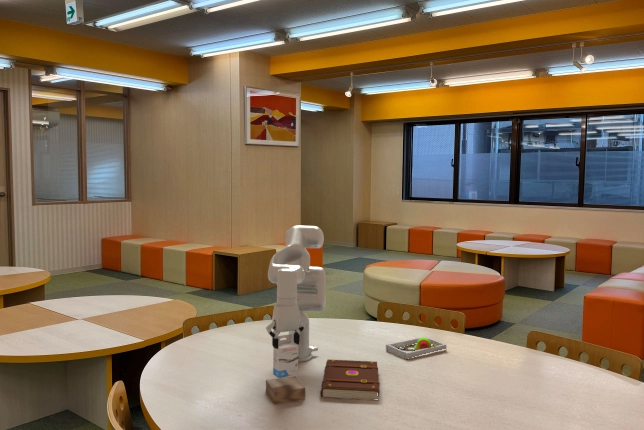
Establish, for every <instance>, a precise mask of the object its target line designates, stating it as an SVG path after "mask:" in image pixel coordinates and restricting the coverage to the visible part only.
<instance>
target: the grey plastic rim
mask: <svg viewBox="0 0 644 430" xmlns="http://www.w3.org/2000/svg"><path fill="white" fill-rule="evenodd" d="M421 337H422V336H420V337H415V338H411V339H406V340H400V341H396V342H391V343H386V344H385V351H386V352H388V353H390V352H391V354H393V355H395V354H396V355H395V356H397V355H398V356H397V357H399V356H401V357H400V358H402V357H403V358H402V359H404V358H406V359H408V358H412V357H415V356H419V355H422V354H426V353H430V352H434V351H438V350H442V349H446V350H447V344H446V343H443V342H440V341H438V340H435V339H433V338H430V337H427V336H425V337H426V338H428V339H429V340H430V342H431V344H433V343H435V345H436V347H429V348H425V349H420V350H416V351H414V350H412V351H408V352H407V351H405V350H403V349H398V348H396V346H399V348H400V347H403V348H405V347H404V346H407V345H412V344H415V343H417V341H418V339H419V338H421ZM406 359H405V360H406ZM412 359H413V358H412ZM408 360H409V359H408Z"/></svg>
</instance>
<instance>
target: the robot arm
mask: <svg viewBox="0 0 644 430" xmlns="http://www.w3.org/2000/svg"><path fill="white" fill-rule="evenodd" d="M324 240H325V236H324V232H323V230H322V229H321V228H320V227H319V226H316V225H293V226H291V227H290V228H289V229H288V230H287V231H286V232H285V246H284V247H283V248H282V249H280V250H278V251H277V252H276V253H275V254H273V256H272V257H271V259H270V262H269V266H268V270H267V278H268V281H269V282H270V283H272V284H276V304H274V306H273V310H272V319H271V323H269V324H268V325H267V326H266V327H265V330H266V331H267V333H268V335H269V336H270V337H271V345H272V347H274V348H276V349H278V338H277V337H278V336H280V333H285V332H288V335H289V334H292V342H294V343H296V344H298V363H299V362H300V363H301V362H308V361H310V360H311V359H312V358H313V354H312V353H313V352H318V351H319V347H318V346H314V347H313V346H310V318H309V316H308V314H307V313H306V312H318V313H319V312H323V311H324V310H325V307H326V297H327V296H326V295H327V294H326V291H327V288H326V287H327V286H326V285H327V284H326V282H327V280H326V279H327V276H326V275H327V274H326V270H325V269H324V268H323V267H320V266H311V255H310V252H308V250H307V249H321V248H322V247H323V245H324V242H325V241H324ZM290 263H291V264H290ZM298 287H299V288H314V289H315V290H313V289H311V290H310V289H307V290H306V289H298ZM272 330H273V331H272Z"/></svg>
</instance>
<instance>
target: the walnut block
mask: <svg viewBox="0 0 644 430" xmlns="http://www.w3.org/2000/svg"><path fill="white" fill-rule="evenodd" d="M265 392H266V394H267V395H268V397H269V398H270V400H271V401H272V403H273V404H274V405H279V404H285V403H286V404H287V403H293V402H294V403H295V402H299V401H300V400H301V401H305V400H306V387H305V386H304V384H303V383H302V382H301V381H300V380H299V379H298V377H296V376H295V375H292V376H287V377H283V378H278V377H277V378H271V379H266V380H265Z"/></svg>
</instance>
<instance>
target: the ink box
mask: <svg viewBox="0 0 644 430" xmlns="http://www.w3.org/2000/svg"><path fill="white" fill-rule="evenodd" d="M277 338H278V349H276V348H274V347H273V346H272V347H273V349H272V350H273V354H272V355H273V356H272V357H273V359H272V360H273V361H272V363H273V364H272V365H273V366H272V374H273V375H274V376H275V377H276V378H277V379H278V378H285V377H293V376H295V375H298V374H299V373H298V372H299V362H298V344H296V343H294V342H292V334H289V333H288V334H283V335H278V337H277ZM283 338H284V339H283Z"/></svg>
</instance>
